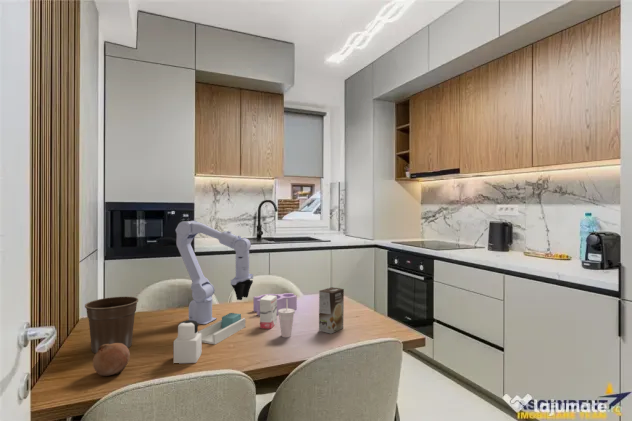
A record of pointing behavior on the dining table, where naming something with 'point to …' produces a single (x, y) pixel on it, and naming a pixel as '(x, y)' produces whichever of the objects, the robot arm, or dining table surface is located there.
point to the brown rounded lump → (111, 359)
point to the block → (230, 319)
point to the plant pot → (111, 321)
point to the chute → (220, 331)
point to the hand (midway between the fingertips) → (242, 298)
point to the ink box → (268, 311)
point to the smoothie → (286, 320)
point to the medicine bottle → (187, 343)
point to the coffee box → (331, 309)
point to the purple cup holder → (278, 301)
